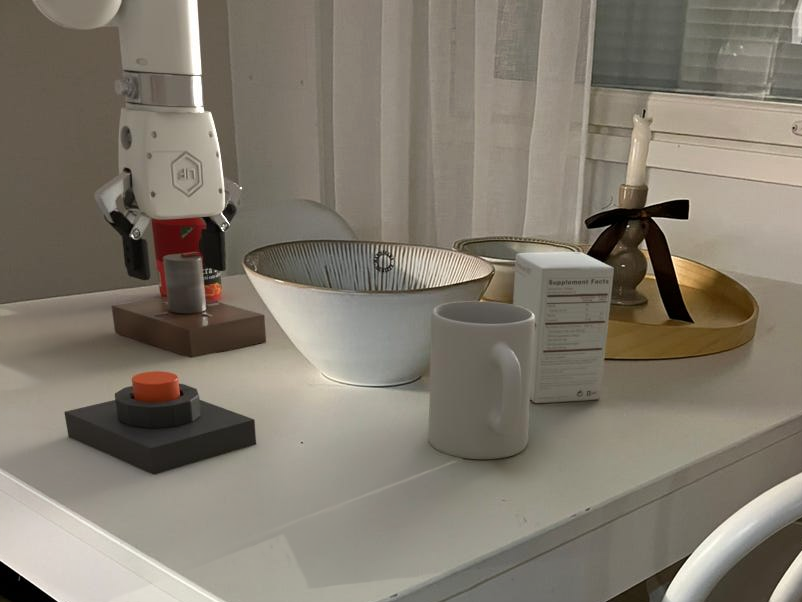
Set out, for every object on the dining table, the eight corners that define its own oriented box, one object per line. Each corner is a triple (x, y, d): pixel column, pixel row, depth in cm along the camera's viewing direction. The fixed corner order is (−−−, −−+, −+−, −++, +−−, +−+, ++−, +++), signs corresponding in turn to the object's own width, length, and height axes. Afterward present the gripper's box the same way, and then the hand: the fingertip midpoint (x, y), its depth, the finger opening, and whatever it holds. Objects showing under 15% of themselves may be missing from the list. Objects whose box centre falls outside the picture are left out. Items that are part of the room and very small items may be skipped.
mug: (416, 430, 90) (417, 302, 85) (506, 423, 93) (513, 298, 87) (459, 479, 81) (464, 338, 75) (559, 470, 83) (570, 333, 78)
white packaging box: (506, 382, 104) (513, 251, 98) (573, 378, 106) (584, 250, 100) (531, 404, 98) (541, 266, 92) (602, 400, 100) (616, 265, 94)
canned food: (192, 307, 126) (182, 212, 121) (146, 298, 130) (135, 204, 124) (236, 297, 132) (229, 206, 127) (191, 288, 136) (182, 199, 130)
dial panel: (114, 332, 115) (110, 303, 113) (189, 319, 121) (186, 291, 120) (191, 358, 107) (188, 327, 106) (266, 342, 114) (264, 313, 112)
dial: (183, 315, 110) (177, 259, 107) (161, 308, 112) (154, 253, 110) (213, 310, 113) (209, 254, 110) (191, 303, 115) (186, 249, 112)
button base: (68, 437, 85) (60, 389, 83) (169, 411, 92) (164, 367, 90) (154, 475, 79) (147, 425, 77) (256, 444, 86) (253, 397, 84)
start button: (125, 398, 83) (122, 376, 82) (162, 389, 86) (160, 368, 85) (151, 408, 81) (149, 386, 81) (189, 399, 84) (187, 377, 83)
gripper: (108, 95, 94) (128, 288, 103) (257, 98, 106) (263, 271, 115) (63, 89, 98) (86, 275, 107) (211, 93, 110) (221, 260, 119)
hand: (178, 273), depth 111 cm, fingers open, 9 cm apart
